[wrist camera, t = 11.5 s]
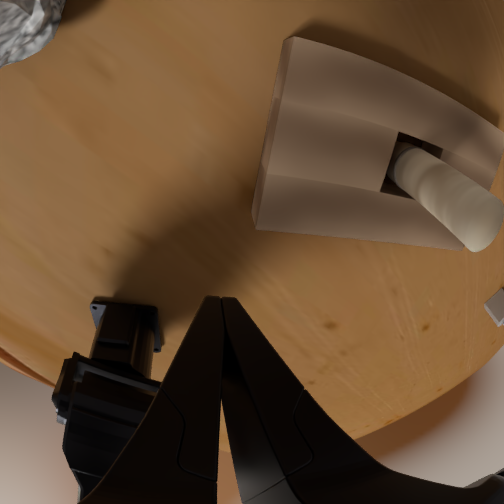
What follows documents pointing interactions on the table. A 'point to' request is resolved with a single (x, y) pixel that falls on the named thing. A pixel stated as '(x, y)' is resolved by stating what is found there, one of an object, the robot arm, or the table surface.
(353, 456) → the robot arm
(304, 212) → the board
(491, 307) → the lighter
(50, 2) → the hammer
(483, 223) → the dowel
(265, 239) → the table surface
